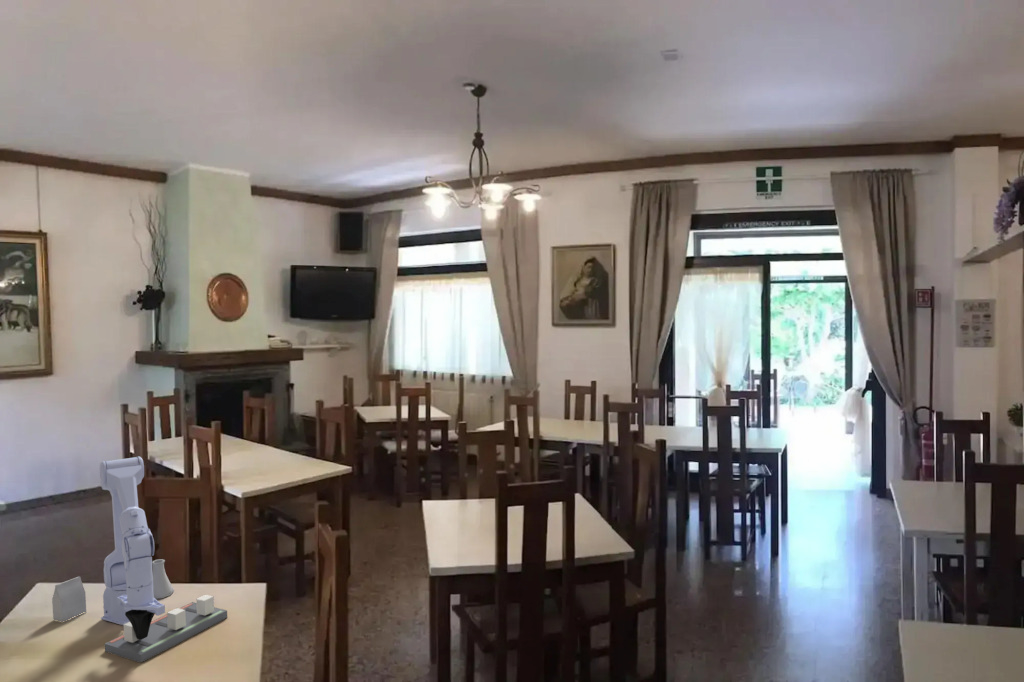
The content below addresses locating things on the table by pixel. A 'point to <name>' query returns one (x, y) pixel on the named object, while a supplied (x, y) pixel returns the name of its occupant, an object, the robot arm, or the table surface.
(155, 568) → the flask
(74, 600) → the grey paper bag
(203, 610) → the switch far
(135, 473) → the robot arm
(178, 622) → the switch middle
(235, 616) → the table surface
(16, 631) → the table surface
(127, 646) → the panel
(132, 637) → the switch
